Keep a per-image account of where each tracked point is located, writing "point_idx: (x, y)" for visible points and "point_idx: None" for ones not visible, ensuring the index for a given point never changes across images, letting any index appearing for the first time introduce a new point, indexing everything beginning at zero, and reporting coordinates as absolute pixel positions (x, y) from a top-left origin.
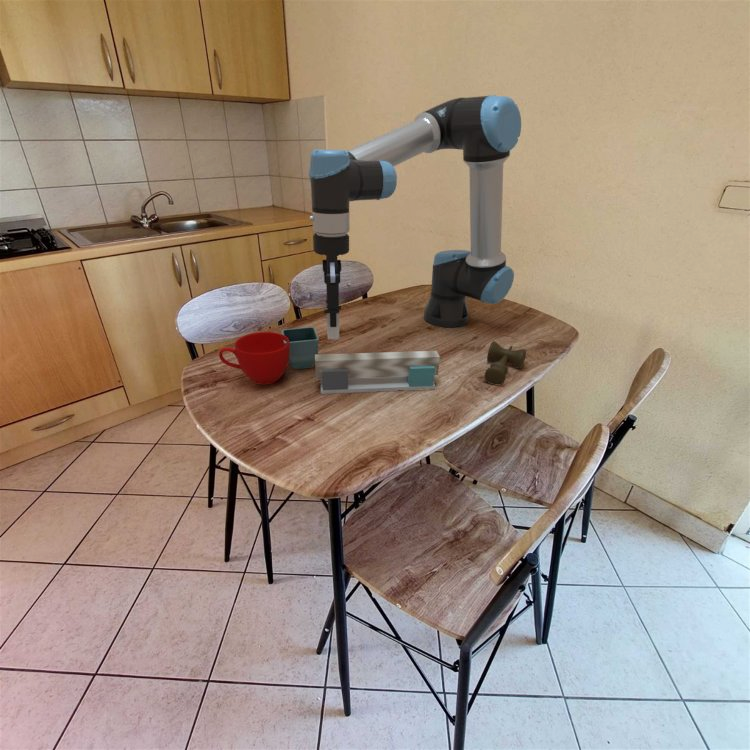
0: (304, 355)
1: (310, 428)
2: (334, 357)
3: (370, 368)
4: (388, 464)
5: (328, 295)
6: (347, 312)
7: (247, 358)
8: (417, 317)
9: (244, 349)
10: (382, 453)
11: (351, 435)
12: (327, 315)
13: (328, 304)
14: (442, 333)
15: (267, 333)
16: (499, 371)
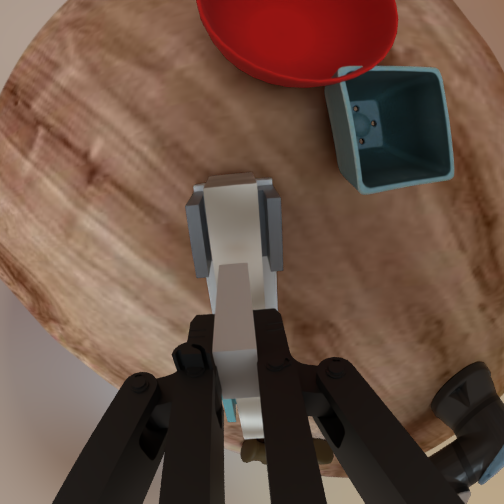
0: (335, 135)
1: (65, 183)
2: (234, 250)
3: None
4: (27, 306)
5: (70, 482)
6: None
7: None
8: (483, 353)
9: None
10: (40, 301)
11: (61, 259)
12: (213, 341)
13: (101, 428)
14: (422, 391)
15: (393, 15)
16: (244, 459)
